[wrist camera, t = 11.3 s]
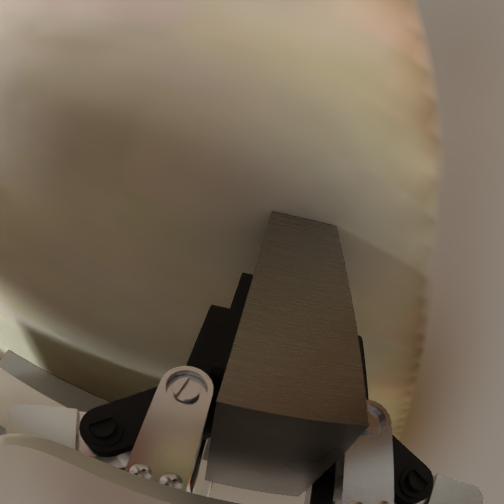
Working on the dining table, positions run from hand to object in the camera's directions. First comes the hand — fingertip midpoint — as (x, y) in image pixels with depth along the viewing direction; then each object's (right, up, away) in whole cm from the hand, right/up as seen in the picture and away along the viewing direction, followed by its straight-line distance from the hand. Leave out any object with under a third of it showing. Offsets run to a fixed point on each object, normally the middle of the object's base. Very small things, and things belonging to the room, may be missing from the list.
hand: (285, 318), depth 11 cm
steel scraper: (-1, -4, +5) cm, 6 cm away
